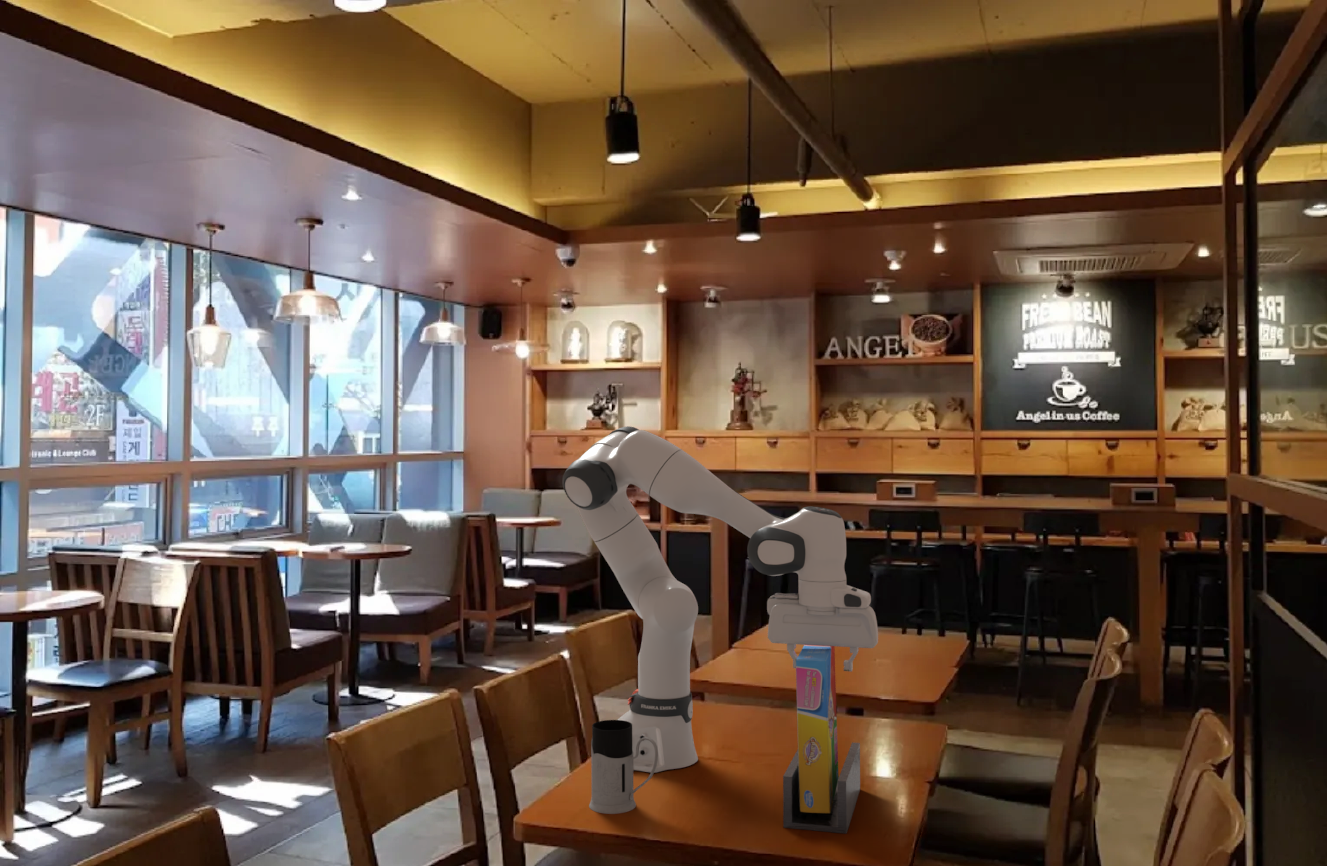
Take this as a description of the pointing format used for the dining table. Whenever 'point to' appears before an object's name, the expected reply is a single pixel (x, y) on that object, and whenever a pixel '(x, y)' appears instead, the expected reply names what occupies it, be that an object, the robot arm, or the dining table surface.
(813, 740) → the game box
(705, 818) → the dining table surface
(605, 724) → the glass holder
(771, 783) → the dining table surface
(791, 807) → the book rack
